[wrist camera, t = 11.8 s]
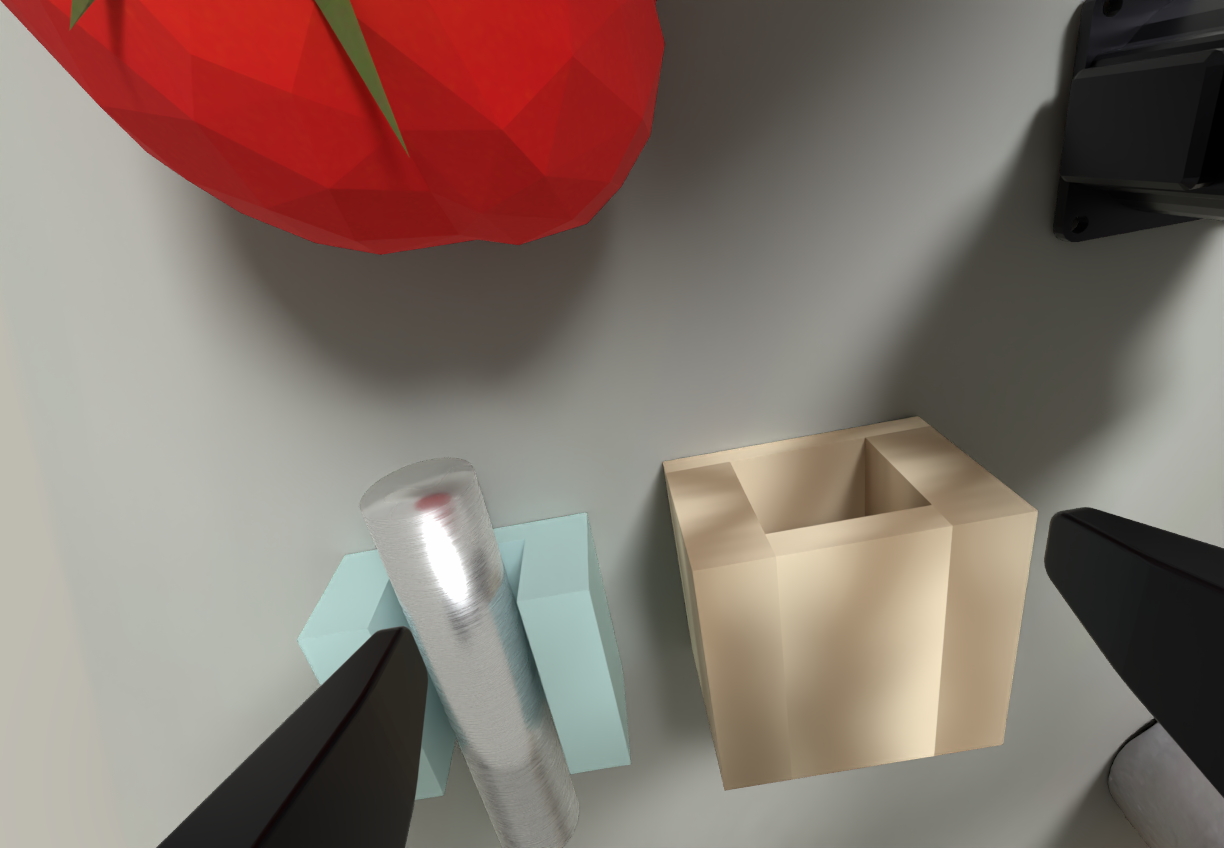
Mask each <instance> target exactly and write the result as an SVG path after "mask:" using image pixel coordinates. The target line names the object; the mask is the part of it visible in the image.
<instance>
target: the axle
mask: <svg viewBox="0 0 1224 848" xmlns="http://www.w3.org/2000/svg"><path fill="white" fill-rule="evenodd" d="M360 510H361V512H362V515H363V517H364V519H365V522H366V524H367V526H368V529H369V531H370V534H371V536H372V538H373V541H374V543H375V546H376V548H377V550H378V553H379V555H380V558H381V560H382V562H383V565H384V567H385V569H386V572H387V574H388V577H389V579H390V581H391V584H392V586H393V589H394V591H395V593H396V596H397V598H398V600H399V603H400V605H401V608H402V610H403V612H404V615H405V617H406V620H407V622H408V624H409V627H410V629H411V631H412V634H413V636H414V639H415V641H416V643H417V646H418V648H419V651H420V653H421V655H422V658H423V660H424V662H425V665H426V667H427V670H428V672H429V674H430V677H431V679H432V682H433V684H434V686H435V689H436V691H437V693H438V696H439V698H440V701H441V703H442V705H443V708H444V710H445V713H446V715H447V717H448V720H449V722H450V724H451V727H452V729H453V732H454V734H455V736H456V739H457V741H458V744H459V746H460V748H461V751H462V753H463V755H464V758H465V760H466V763H467V765H468V767H469V770H470V772H471V775H472V777H473V779H474V782H475V784H476V787H477V789H478V791H479V794H480V796H481V798H482V801H483V803H484V806H485V808H486V810H487V813H488V815H489V818H490V820H491V822H492V825H493V827H494V829H495V832H496V834H497V837H498V839H499V841H500V844H501V846H502V847H503V848H562V847H563V846H564V845H565V844H566V843H567V842H568V841H569V839H570V838H571V836H572V834H573V832H574V830H575V828H576V825H577V822H578V817H579V804H578V800H577V796H576V793H575V790H574V787H573V783H572V780H571V777H570V774H569V771H568V767H567V764H566V761H565V758H564V755H563V751H562V748H561V745H560V742H559V739H558V735H557V732H556V729H555V726H554V723H553V719H552V716H551V713H550V710H549V707H548V703H547V700H546V697H545V694H544V691H543V687H542V684H541V681H540V678H539V675H538V672H537V668H536V665H535V662H534V659H533V656H532V652H531V649H530V646H529V643H528V640H527V636H526V633H525V630H524V627H523V624H522V620H521V617H520V614H519V611H518V608H517V604H516V601H515V598H514V595H513V592H512V588H511V585H510V582H509V579H508V576H507V572H506V569H505V566H504V563H503V560H502V556H501V553H500V550H499V547H498V544H497V541H496V537H495V534H494V531H493V528H492V525H491V521H490V518H489V515H488V512H487V509H486V505H485V502H484V499H483V496H482V493H481V489H480V486H479V483H478V480H477V477H476V473H475V470H474V468H473V466H472V465H471V464H470V463H469V462H467V461H465V460H462V459H458V458H438V459H431V460H426V461H422V462H418V463H415V464H412V465H409V466H406V467H403V468H401V469H399V470H397V471H394V472H392V473H391V474H389V475H387V476H385V477H384V478H382V479H380V480H379V481H378V482H376V483H375V484H374V485H372V486H371V487H370V488H369V489H368V490H367V491H366V493H365V494H364V495H363V497H362V499H361V501H360Z"/></svg>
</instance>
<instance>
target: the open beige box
mask: <svg viewBox="0 0 1224 848" xmlns="http://www.w3.org/2000/svg"><path fill="white" fill-rule="evenodd" d="M663 467H664V473H665V480H666V486H667V492H668V499H669V505H670V511H671V518H672V524H673V530H674V537H675V543H676V550H677V556H678V562H679V569H680V575H681V581H682V588H683V594H684V600H685V607H686V613H687V619H688V626H689V632H690V638H691V645H692V651H693V655H694V659H695V664H696V668H697V672H698V677H699V681H700V686H701V690H702V694H703V699H704V703H705V707H706V712H707V716H708V720H709V725H710V729H711V733H712V738H713V742H714V747H715V751H716V755H717V760H718V764H719V768H720V773H721V777H722V781H723V786H724V790H731V789H737V788H743V787H749V786H755V785H761V784H767V783H773V782H779V781H785V780H791V779H797V778H803V777H810V776H816V775H822V774H828V773H834V772H840V771H846V770H852V769H858V768H864V767H870V766H876V765H882V764H888V763H894V762H900V761H906V760H912V759H919V758H925V757H931V756H937V755H943V754H949V753H955V752H961V751H967V750H973V749H979V748H985V747H991V746H997V745H1003V740H1004V733H1005V727H1006V720H1007V713H1008V707H1009V700H1010V693H1011V687H1012V680H1013V674H1014V667H1015V660H1016V654H1017V647H1018V641H1019V634H1020V627H1021V621H1022V614H1023V608H1024V601H1025V594H1026V588H1027V581H1028V574H1029V568H1030V561H1031V555H1032V548H1033V541H1034V535H1035V528H1036V522H1037V515H1038V511H1037V510H1036V509H1035V508H1034V507H1032V506H1031V505H1030V504H1029V503H1027V502H1026V501H1025V500H1024V499H1022V498H1021V497H1020V496H1019V495H1017V494H1016V493H1015V492H1014V491H1012V490H1011V489H1010V488H1008V487H1007V486H1006V485H1005V484H1003V483H1002V482H1001V481H1000V480H998V479H997V478H996V477H995V476H993V475H992V474H991V473H990V472H988V471H987V470H986V469H984V468H983V467H982V466H981V465H979V464H978V463H977V462H976V461H974V460H973V459H972V458H971V457H969V456H968V455H967V454H966V453H964V452H963V451H962V450H961V449H959V448H958V447H957V446H955V445H954V444H953V443H952V442H950V441H949V440H948V439H947V438H945V437H944V436H943V435H942V434H940V433H939V432H938V431H937V430H935V429H934V428H933V427H931V426H930V425H929V424H928V423H926V422H925V421H924V420H923V419H921V418H920V417H919V416H916V417H910V418H905V419H899V420H894V421H888V422H882V423H877V424H871V425H866V426H860V427H854V428H849V429H843V430H838V431H832V432H826V433H821V434H815V435H810V436H804V437H799V438H793V439H787V440H782V441H776V442H771V443H765V444H759V445H754V446H748V447H743V448H737V449H732V450H726V451H720V452H715V453H709V454H704V455H698V456H692V457H687V458H681V459H676V460H670V461H664V462H663Z"/></svg>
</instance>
